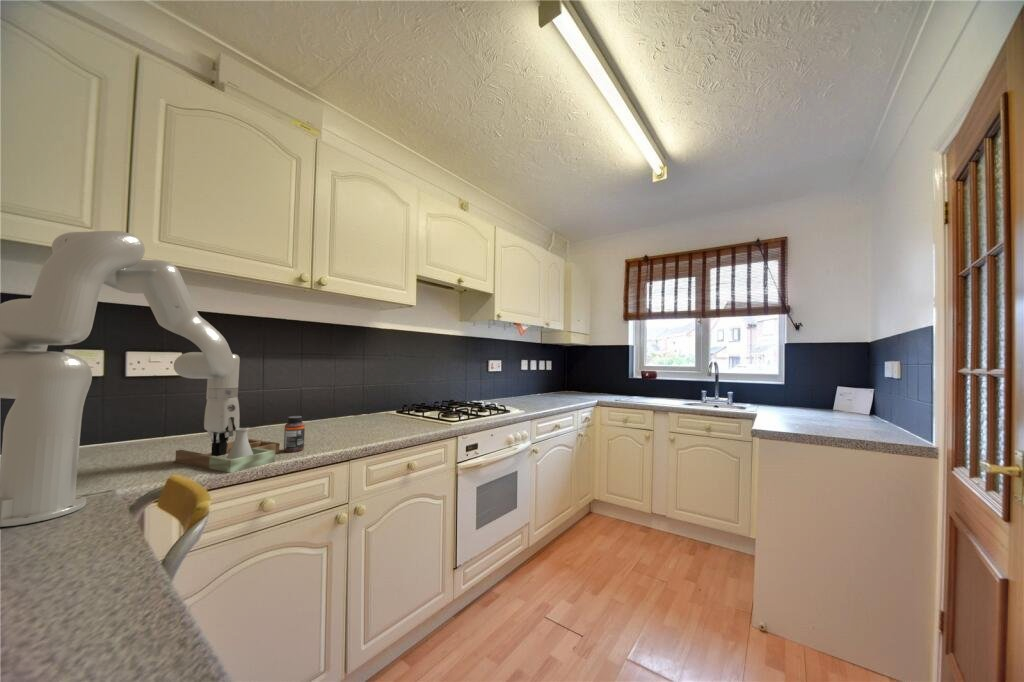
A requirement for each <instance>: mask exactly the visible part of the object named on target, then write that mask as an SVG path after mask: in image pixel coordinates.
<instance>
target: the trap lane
mask: <svg viewBox="0 0 1024 682" xmlns="http://www.w3.org/2000/svg"><path fill="white" fill-rule="evenodd" d="M234 441H235V440H234ZM234 441H227V450H226V454H229V452H230V450H231V448H232V446H233V444H234ZM248 442H249V444H250V447H251V450H252V452H253V454H254V455H249V456H245V457H240V458H236V459H229V458H227V457H224V456H213V455H211V454H207V453H201V452H196V451H190V450H184V449H178V450H177V449H176V450H175V458H174V459H175V463H179V464H186V465H191V466H195V467H199V468H205V469H211V470H215V471H219V472H224V473H230V474H231V473H235V472H238V471H242V470H247V469H251V468H255V467H260V466H263V465H266V464H270V463H273V462H275V460H276V458H275V457H276V455H277V454H280V442H274V441H268V440H267V441H266V440H259V439H252V438H248Z"/></svg>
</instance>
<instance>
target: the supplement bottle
mask: <svg viewBox="0 0 1024 682" xmlns="http://www.w3.org/2000/svg"><path fill="white" fill-rule="evenodd" d="M305 428H306V423H304V422H303V416H301V415H292V416H288V419H287V423H285V425H284V435H283V436H284V437H283V452H285V453H297V452H301V451H302V450H304V449H305V434H306V433H305V430H306V429H305Z"/></svg>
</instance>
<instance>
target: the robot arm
mask: <svg viewBox="0 0 1024 682" xmlns="http://www.w3.org/2000/svg"><path fill="white" fill-rule="evenodd" d="M51 250H52V254H51V255H50V256H49V257H48V258H47V259H46V261H45V262H44V264H43V265H42V266H41V269H40V271H39V275H38V277H37V280H36V283H35V286H34V289H33V292H32V294H31V297H30V298H17V299H16V298H15V299H10V300H8V301H4V302H2V303H0V399H8V400H9V399H12V400H13V399H14V402H13V404H12V406H11V407H10V408H9V411H8V413H7V415H6V416H5V417H6V418H5V420H4V425H3V430H2V446H1V454H0V455H1V456H0V528H3V527H5V528H6V527H14V526H15V527H16V526H23V525H27V524H32V523H34V524H35V523H38V522H42V521H43V522H44V521H47V520H52V519H55V518H59V517H62V516H65V515H68V514H71V513H74V512H76V511H79V510H81V509H82V508H84V507H85V506H86V504H87V498H86V497H85V496H80V495H76V493H77V478H78V466H79V454H80V444H81V441H80V440H81V430H82V419H83V411H84V406H85V401H86V398H87V395H88V392H89V390H90V387H91V385H92V380H93V372H92V369H91V367H90V364H89V363H87V361H86V360H84V358H82V357H79V356H77V355H75V354H72V353H69V352H63V351H62V352H61V351H48V347H49V346H66V345H67V346H68V345H69V346H70V345H75V344H79V343H81V342H83V341H85V340H86V339H87V338H88V337H89V335H90V334H91V331H92V329H93V324H94V321H95V316H96V311H97V306H98V302H99V297H100V294H101V290H102V287H103V285H105V286H107V287H109V288H112V289H115V290H117V291H120V292H123V293H126V294H143V296H144V297H145V300H146V302H147V304H148V306H149V307H150V309H151V311H152V313H153V315H154V317H155V320H156V321H157V322H156V323H158V325H159V326H160V327H162V328H164V329H165V330H167V331H170V332H172V333H174V334H176V335H179V336H181V337H183V338H185V339H187V340H188V341H190V342H192V343H193V344H195V346H197V347H198V348H199V349H200V351H201V352H200V351H191V352H190V351H189V352H186V353H182V354H180V355H179V356H178V357H177V358H175V360H174V362H173V370H174V371H175V373H176V374H177V375H179V377H180V376H181V377H182V378H186V379H195V380H196V379H199V380H200V379H201V380H202V379H203V380H204V379H207V384H206V398H205V399H206V405H205V410H204V418H203V428H204V430H205V431H207V434H208V435H209V436H210V442H211V454H210V455H213V456H218V457H222V456H225V455H226V454H227V453H226V450H227V443H228V442H229V438H231V437H233V436H234V432H236V431H235V429H238V428H240V418H241V417H240V416H241V415H240V403H239V397H238V395H239V377H240V362H241V361H240V359H241V358H240V356H239V355H238V354H236V353H233V352H232V351H231V348H230V346H229V343H228V342H227V340H226V338H225V337H224V336H223V334H221V332H220V331H219V330H217V328H215V327H214V326H213V325H212V324H210V323H209V321H207V320H206V319H205V318H203V317H202V316H201V315H200V314H199V312H198V310H197V308H196V305H195V304H194V301H193V299H192V297H191V294H190V292H189V290H188V287H187V285H186V283H185V281H184V278H183V277H182V274H181V272H180V270H179V269H178V267H177V266H176V265H175V264H173V263H172V262H168V261H166V260H160V259H159V260H157V259H156V260H155V259H143V258H144V256H145V250H146V249H145V245H144V243H143V242H142V240H141V239H140V238H139V237H137V235H135V234H133V233H129V232H125V231H120V230H95V231H71V232H66V233H63V234H60V235H57V237H56V238H55V239H54V240H52V244H51Z"/></svg>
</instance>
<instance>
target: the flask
mask: <svg viewBox="0 0 1024 682" xmlns="http://www.w3.org/2000/svg"><path fill="white" fill-rule="evenodd" d="M249 430H250V428H249V427H239V428H238V429H235V431H234V432H235V437H234V444H233V446H232V448H231V450H230V452H229V453H227V454H228V455H227V457H226V458H229V459H236V458H240V457H245V456H249V455H254V454H253V452H252V450H251V447H250V444H249V442H248V439H249V437H248V431H249Z"/></svg>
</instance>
